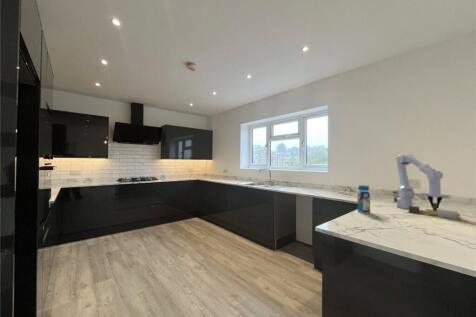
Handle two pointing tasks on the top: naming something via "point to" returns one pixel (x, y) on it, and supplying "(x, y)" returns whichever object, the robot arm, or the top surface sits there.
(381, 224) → the top surface
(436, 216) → the base board
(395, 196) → the food container
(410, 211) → the socket
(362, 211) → the beverage bottle
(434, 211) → the inner sliding bolt
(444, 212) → the sleeve
